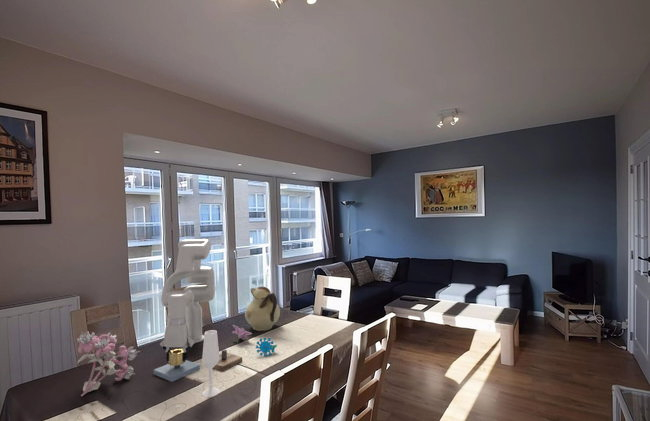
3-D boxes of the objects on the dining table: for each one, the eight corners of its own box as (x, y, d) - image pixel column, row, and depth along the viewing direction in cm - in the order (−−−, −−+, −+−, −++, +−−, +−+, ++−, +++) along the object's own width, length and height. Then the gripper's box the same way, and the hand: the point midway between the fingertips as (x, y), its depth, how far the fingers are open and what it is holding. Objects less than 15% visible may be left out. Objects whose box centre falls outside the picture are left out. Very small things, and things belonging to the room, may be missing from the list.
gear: (256, 355, 159) (256, 336, 167) (253, 360, 163) (253, 342, 170) (277, 355, 163) (276, 336, 170) (275, 360, 167) (274, 342, 174)
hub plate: (153, 374, 145) (153, 359, 145) (181, 362, 157) (181, 349, 157) (171, 381, 137) (171, 366, 138) (199, 369, 149) (199, 354, 149)
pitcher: (252, 321, 220) (252, 285, 221) (285, 322, 217) (285, 285, 217) (239, 333, 198) (239, 292, 198) (276, 334, 194) (276, 293, 195)
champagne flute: (202, 398, 124) (202, 335, 125) (201, 390, 130) (201, 330, 131) (220, 394, 126) (220, 333, 127) (218, 386, 133) (218, 328, 134)
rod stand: (205, 365, 153) (205, 352, 153) (225, 356, 163) (225, 344, 164) (222, 371, 147) (222, 357, 147) (242, 361, 157) (242, 348, 157)
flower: (118, 397, 123) (137, 328, 135) (53, 397, 119) (78, 327, 131) (135, 395, 140) (150, 335, 152) (79, 395, 137) (99, 333, 149)
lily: (253, 345, 180) (256, 327, 186) (235, 341, 174) (238, 323, 179) (242, 346, 188) (244, 329, 193) (224, 343, 181) (227, 326, 186)
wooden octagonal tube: (166, 365, 144) (166, 354, 144) (173, 359, 150) (173, 348, 151) (180, 365, 144) (180, 354, 144) (187, 359, 150) (187, 348, 150)
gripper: (154, 323, 145) (154, 363, 144) (191, 323, 144) (191, 363, 143) (163, 318, 152) (163, 356, 151) (199, 318, 151) (199, 356, 150)
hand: (177, 359), depth 147 cm, fingers closed on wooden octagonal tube, 6 cm apart
